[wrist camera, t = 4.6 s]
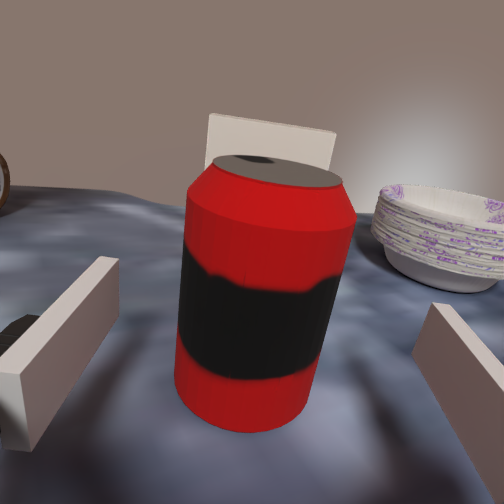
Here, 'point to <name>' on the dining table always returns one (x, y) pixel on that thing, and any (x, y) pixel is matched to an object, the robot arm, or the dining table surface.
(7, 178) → the tin
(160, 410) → the dining table surface
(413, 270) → the paper bowls
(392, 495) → the dining table surface
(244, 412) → the soda can
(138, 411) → the dining table surface
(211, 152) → the block
